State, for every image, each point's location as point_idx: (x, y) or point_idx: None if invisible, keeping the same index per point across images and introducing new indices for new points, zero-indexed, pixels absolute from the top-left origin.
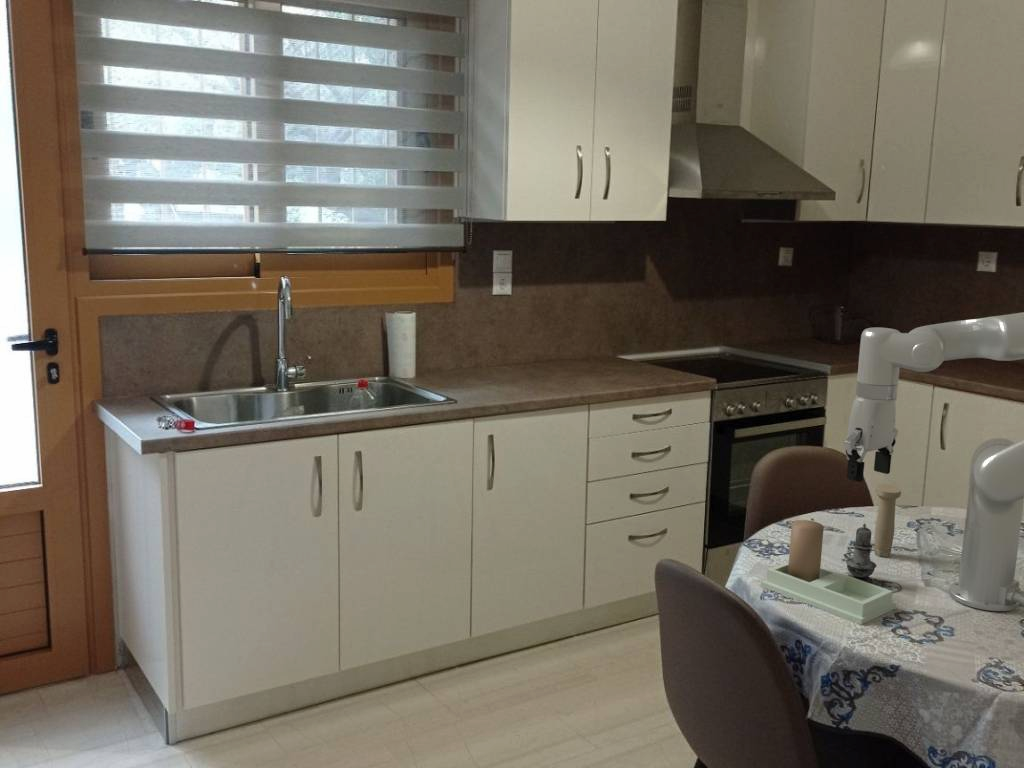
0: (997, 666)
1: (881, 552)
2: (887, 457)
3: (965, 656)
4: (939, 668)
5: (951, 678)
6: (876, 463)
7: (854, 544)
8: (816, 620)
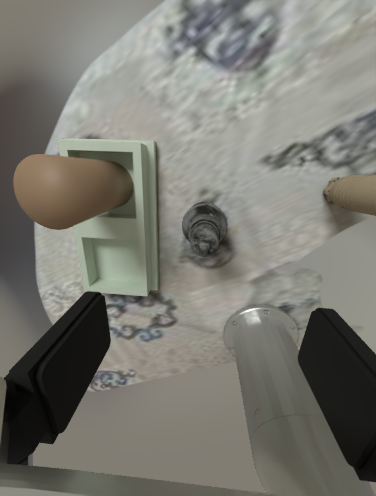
0: (122, 376)
1: (326, 194)
2: (344, 446)
3: (116, 359)
4: None
5: None
6: (331, 346)
7: (194, 225)
8: (56, 248)
